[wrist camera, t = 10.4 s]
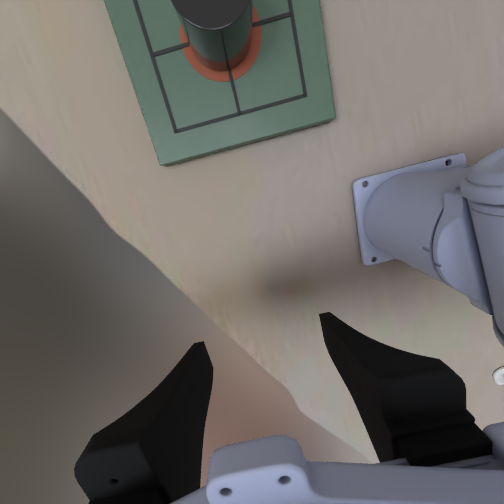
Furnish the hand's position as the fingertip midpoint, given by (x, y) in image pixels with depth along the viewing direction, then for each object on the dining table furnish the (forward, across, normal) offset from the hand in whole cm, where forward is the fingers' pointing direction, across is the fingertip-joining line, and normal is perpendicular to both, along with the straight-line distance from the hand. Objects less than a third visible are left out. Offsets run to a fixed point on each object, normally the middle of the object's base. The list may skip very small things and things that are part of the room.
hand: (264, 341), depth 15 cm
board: (+9, -2, -19) cm, 21 cm away
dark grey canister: (+8, -2, -19) cm, 21 cm away
